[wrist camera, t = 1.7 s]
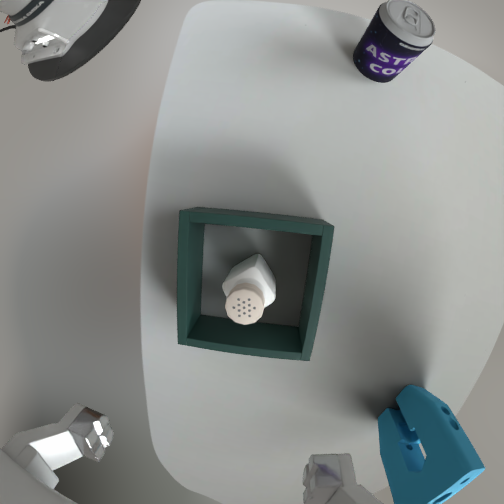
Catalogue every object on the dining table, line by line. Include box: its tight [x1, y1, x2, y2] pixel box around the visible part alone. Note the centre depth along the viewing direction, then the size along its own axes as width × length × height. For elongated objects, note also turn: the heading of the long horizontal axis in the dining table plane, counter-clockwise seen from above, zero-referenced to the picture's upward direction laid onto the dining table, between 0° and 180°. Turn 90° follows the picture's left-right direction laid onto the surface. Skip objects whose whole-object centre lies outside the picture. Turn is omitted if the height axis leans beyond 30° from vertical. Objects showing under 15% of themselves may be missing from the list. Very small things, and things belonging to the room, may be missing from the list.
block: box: [378, 385, 485, 504], centre depth 24 cm, size 12×5×20 cm, turn 155°
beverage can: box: [353, 0, 435, 83], centre depth 19 cm, size 6×6×12 cm
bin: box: [177, 207, 334, 361], centre depth 28 cm, size 14×14×6 cm
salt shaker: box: [222, 254, 276, 325], centre depth 27 cm, size 4×4×10 cm
